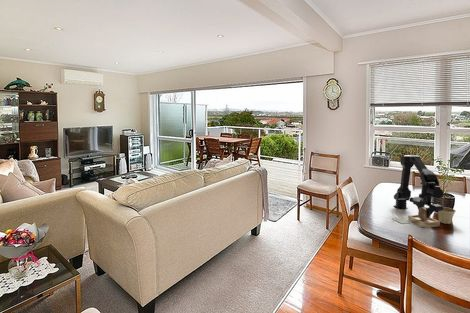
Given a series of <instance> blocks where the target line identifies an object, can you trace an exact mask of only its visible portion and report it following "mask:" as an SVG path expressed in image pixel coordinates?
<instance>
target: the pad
mask: <svg viewBox="0 0 470 313" xmlns="http://www.w3.org/2000/svg"><path fill="white" fill-rule="evenodd" d="M392 220H394V221H395V222H398V223H400V224H401V225H405V224H406V225H407V224H414V223H413V222H411V221H409V220H408V218H405V217H394V218H392Z"/></svg>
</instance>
